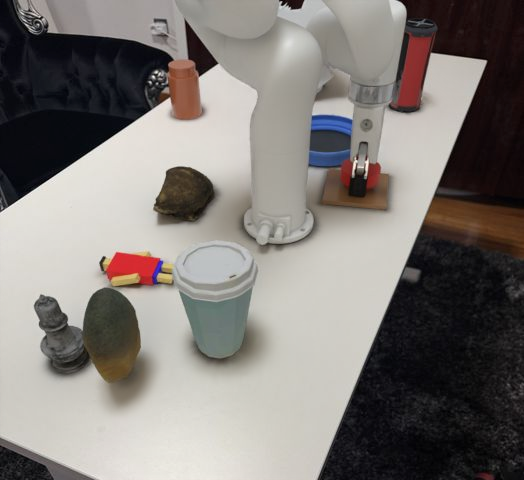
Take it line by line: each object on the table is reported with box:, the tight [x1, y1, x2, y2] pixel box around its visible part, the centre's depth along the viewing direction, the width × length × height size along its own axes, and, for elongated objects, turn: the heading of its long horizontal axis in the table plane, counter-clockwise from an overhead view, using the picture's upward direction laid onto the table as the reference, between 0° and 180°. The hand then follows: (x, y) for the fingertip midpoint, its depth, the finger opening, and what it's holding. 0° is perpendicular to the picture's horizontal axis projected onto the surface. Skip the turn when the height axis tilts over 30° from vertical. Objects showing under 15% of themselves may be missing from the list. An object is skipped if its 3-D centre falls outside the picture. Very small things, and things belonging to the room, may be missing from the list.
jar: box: [166, 58, 203, 120], centre depth 117 cm, size 7×7×11 cm
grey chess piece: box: [33, 293, 91, 374], centre depth 64 cm, size 6×6×12 cm
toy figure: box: [98, 250, 174, 287], centre depth 80 cm, size 2×7×12 cm
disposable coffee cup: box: [171, 239, 259, 359], centre depth 65 cm, size 11×11×15 cm
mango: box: [82, 286, 142, 384], centre depth 61 cm, size 10×6×15 cm, turn 170°
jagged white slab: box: [277, 0, 335, 95], centre depth 119 cm, size 20×16×25 cm
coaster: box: [321, 168, 389, 211], centre depth 97 cm, size 12×12×1 cm
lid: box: [340, 157, 382, 189], centre depth 94 cm, size 8×8×2 cm
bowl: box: [308, 113, 353, 167], centre depth 107 cm, size 18×18×4 cm
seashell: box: [152, 165, 215, 221], centre depth 92 cm, size 16×9×7 cm, turn 160°
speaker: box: [388, 17, 438, 113], centre depth 115 cm, size 8×8×18 cm
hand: (358, 184), depth 96 cm, fingers closed on lid, 7 cm apart
